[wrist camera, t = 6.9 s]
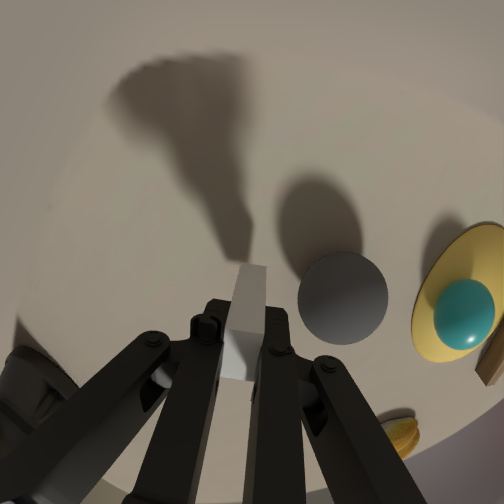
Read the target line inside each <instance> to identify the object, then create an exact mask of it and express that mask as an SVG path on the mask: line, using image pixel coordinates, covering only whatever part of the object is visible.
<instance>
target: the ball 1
mask: <svg viewBox="0 0 504 504" xmlns="http://www.w3.org/2000/svg"><path fill="white" fill-rule="evenodd" d="M387 306H388V289H387V285H386V282H385V279H384V277H383V275H382V273H381V272H380V270H379V269H378V268H377V267H376V266H375V265H374V264H373V263H372V262H371V261H370V260H368V259H366V258H365V257H363V256H360V255H358V254H354V253H348V252H340V253H334V254H330V255H328V256H325V257H323V258H322V259H320V260H318V261H317V262H316V263H314V264H313V265H312V266H311V267H310V268H309V269H308V271H307V272H306V274H305V275H304V277H303V279H302V281H301V284H300V287H299V291H298V309H299V313H300V316H301V318H302V320H303V322H304V324H305V326H306V327H307V328H308V330H309V331H310V332H311V333H312V334H313V335H315V336H316V337H317V338H319V339H321V340H323V341H325V342H328V343H331V344H337V345H347V344H352V343H356V342H359V341H361V340H363V339H365V338H366V337H368V336H369V335H370V334H372V333H373V332H374V331H375V330H376V329H377V327H378V326H379V325H380V323H381V322H382V320H383V318H384V316H385V313H386V310H387Z"/></svg>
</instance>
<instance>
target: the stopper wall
mask: <svg viewBox="0 0 504 504" xmlns="http://www.w3.org/2000/svg"><path fill="white" fill-rule="evenodd" d="M475 371H476V373H477V374H478V375H479V377H480V378H481V380H482V381H483V383H484V384H485V386H490V385H494V384H495V383H496V382H497V380H498V379H499V377H500V376H501V374H502V373H503V371H504V320H503V322H502V324H501V326H500V328H499V330H498V332H497V334H496V336H495V338H494V339H493V341H492V343H491V345H490V347H489V348H488V350H487V352H486V354H485V355H484V357H483V359H482V360H481V362H480V363H479V365H478V367H477V368H476V370H475Z"/></svg>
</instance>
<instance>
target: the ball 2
mask: <svg viewBox="0 0 504 504" xmlns="http://www.w3.org/2000/svg"><path fill="white" fill-rule="evenodd" d="M494 318H495V304H494V300H493V297H492V295H491V293H490V291H489V290H488V288H487V287H486V286H485V285H484V284H482V283H481V282H479V281H477V280H474V279H460V280H457V281H454V282H453V283H451V284H450V285H448V286H447V287H446V288H445V289H444V290H443V291H442V293H441V294H440V296H439V297H438V299H437V301H436V304H435V308H434V313H433V322H434V328H435V331H436V333H437V335H438V337H439V339H440V340H441V341H442V342H443V343H444V344H445V345H446V346H448V347H450V348H452V349H455V350H467V349H471V348H473V347H475V346H477V345H478V344H480V343H481V342H482V341H483V340H484V339H485V338H486V337H487V335H488V334H489V332H490V330H491V328H492V326H493V323H494Z"/></svg>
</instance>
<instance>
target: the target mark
mask: <svg viewBox="0 0 504 504" xmlns="http://www.w3.org/2000/svg"><path fill="white" fill-rule="evenodd" d="M460 279H474V280H477V281H479V282H481V283H482V284H484V285H485V286H486V287H487V288H488V290H489V291H490V293H491V295H492V297H493V300H494V304H495V318H494V323H493V326H492V328H491V330H490V332H489V334H488V335H487V337H486V338H485V339H484V340H483V341H482V342H481V343H480V344H478V345H477V346H475V347H473V348H471V349H467V350H455V349H452V348H450V347H448V346H446V345H445V344H444V343H443V342H442V341H441V340H440V339H439V337H438V335H437V333H436V331H435V328H434V322H433V313H434V308H435V304H436V301H437V299H438V297H439V296H440V294H441V293H442V291H443V290H444V289H445V288H446V287H447V286H448V285H450V284H451V283H453V282H454V281H457V280H460ZM503 317H504V229H502V228H500V227H499V226H495V225H481V226H477V227H475V228H472V229H470V230H469V231H467V232H465V233H464V234H462V235H461V236H460V237H459V238H457V239H456V240H455V241H454V242H453V243H452V244H451V245H450V246H449V247H448V248H447V249H446V250H445V251H444V253H443V254H442V255H441V256H440V258H439V259H438V260H437V262H436V263H435V264H434V266H433V268H432V269H431V271H430V272H429V274H428V276H427V278H426V280H425V282H424V283H423V286H422V288H421V290H420V293H419V295H418V298H417V301H416V304H415V307H414V312H413V317H412V331H411V332H412V339H413V342H414V345H415V347H416V349H417V351H418V352H419V353H420V355H421V356H422V357H424V358H425V359H427V360H429V361H432V362H449V361H453V360H456V359H458V358H461V357H463V356H465V355H467V354H468V353H470V352H471V351H473V350H474V349H476V348H477V347H478V346H479V345H481V344H482V343H483V342H484V341H485V340H486V339H487V338H488V337H489V336H490V335H491V334H492V332H493V331H494V330H495V329H496V327H497V326H498V325H499V323H500V322H501V320H502V319H503Z"/></svg>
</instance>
